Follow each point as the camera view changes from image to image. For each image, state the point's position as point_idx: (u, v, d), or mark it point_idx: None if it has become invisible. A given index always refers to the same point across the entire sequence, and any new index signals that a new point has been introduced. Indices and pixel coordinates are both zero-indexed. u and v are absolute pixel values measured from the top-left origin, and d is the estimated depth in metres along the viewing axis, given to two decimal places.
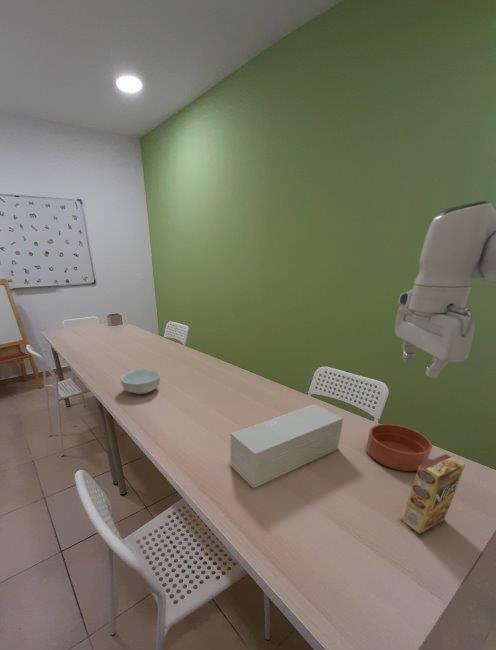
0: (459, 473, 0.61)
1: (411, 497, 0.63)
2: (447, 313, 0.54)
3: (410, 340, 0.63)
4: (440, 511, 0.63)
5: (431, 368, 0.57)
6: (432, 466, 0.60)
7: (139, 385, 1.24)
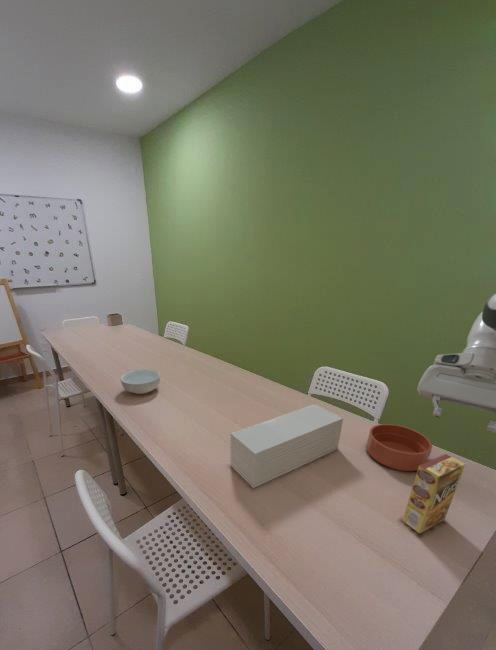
0: (459, 473, 0.61)
1: (411, 497, 0.63)
2: None
3: (457, 396, 0.67)
4: (440, 511, 0.63)
5: None
6: (432, 466, 0.60)
7: (139, 385, 1.24)
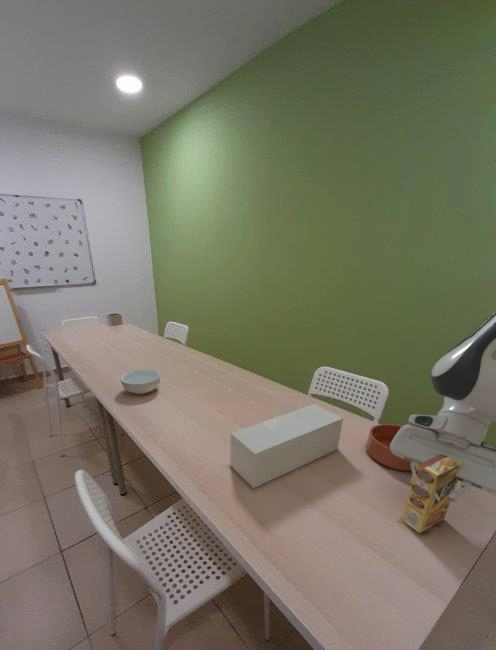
0: None
1: (410, 497, 0.63)
2: None
3: None
4: (439, 510, 0.63)
5: (460, 492, 0.60)
6: (431, 465, 0.60)
7: (139, 385, 1.24)
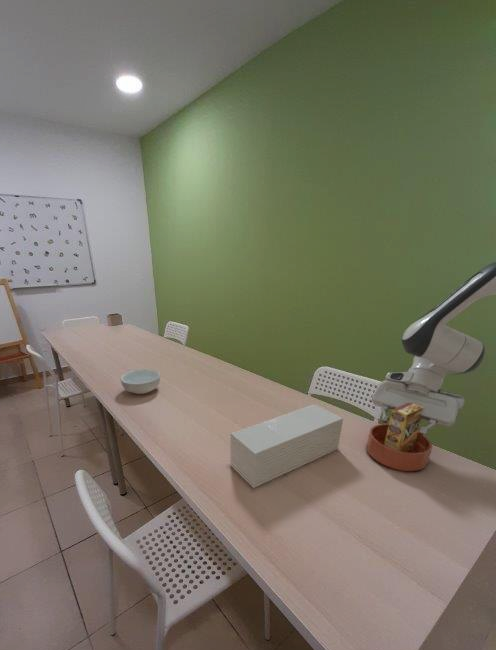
0: None
1: (387, 435, 0.83)
2: None
3: (399, 406, 0.84)
4: (408, 444, 0.84)
5: (428, 427, 0.79)
6: (402, 409, 0.80)
7: (139, 385, 1.24)
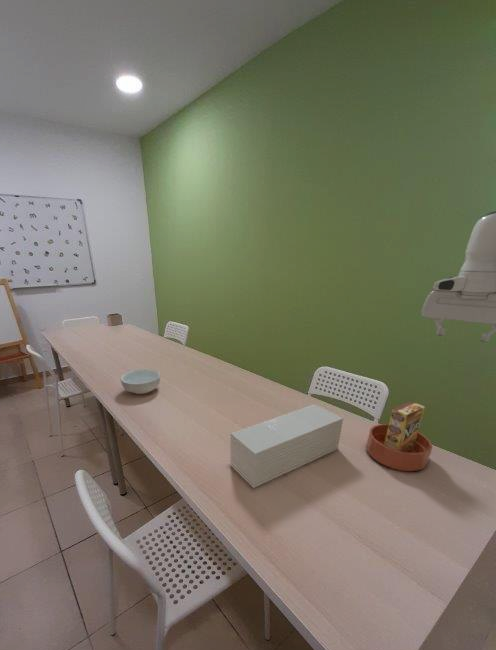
0: (421, 414, 0.81)
1: (387, 435, 0.83)
2: None
3: (455, 318, 0.78)
4: (408, 444, 0.84)
5: (490, 334, 0.75)
6: (402, 409, 0.80)
7: (139, 385, 1.24)
